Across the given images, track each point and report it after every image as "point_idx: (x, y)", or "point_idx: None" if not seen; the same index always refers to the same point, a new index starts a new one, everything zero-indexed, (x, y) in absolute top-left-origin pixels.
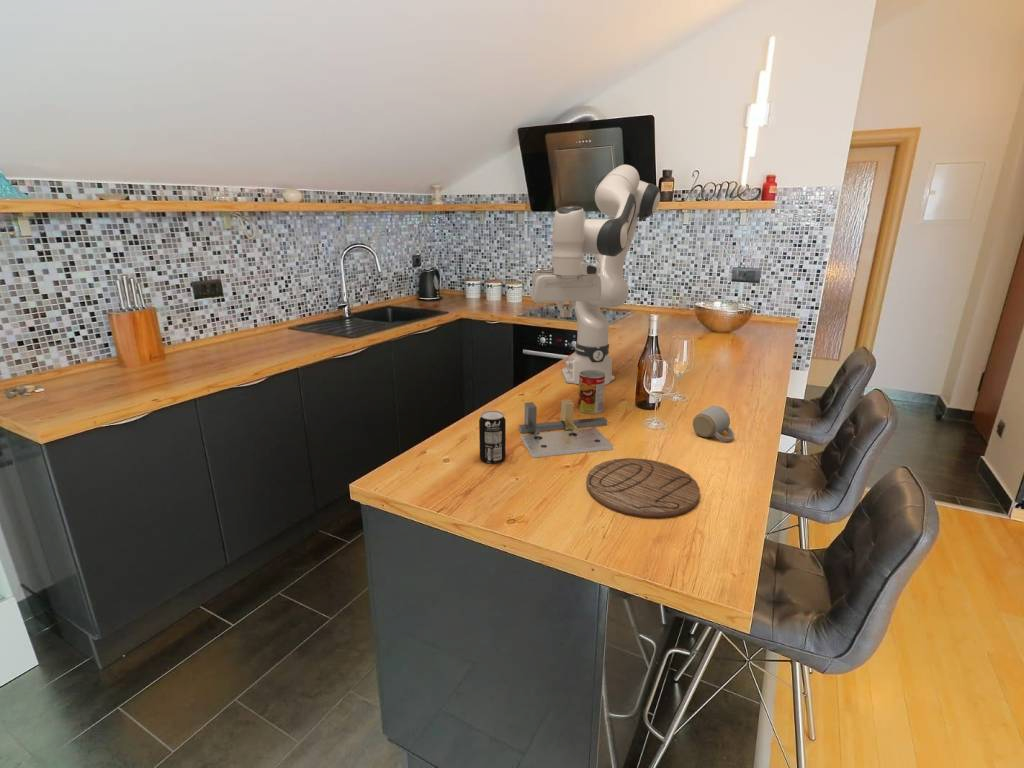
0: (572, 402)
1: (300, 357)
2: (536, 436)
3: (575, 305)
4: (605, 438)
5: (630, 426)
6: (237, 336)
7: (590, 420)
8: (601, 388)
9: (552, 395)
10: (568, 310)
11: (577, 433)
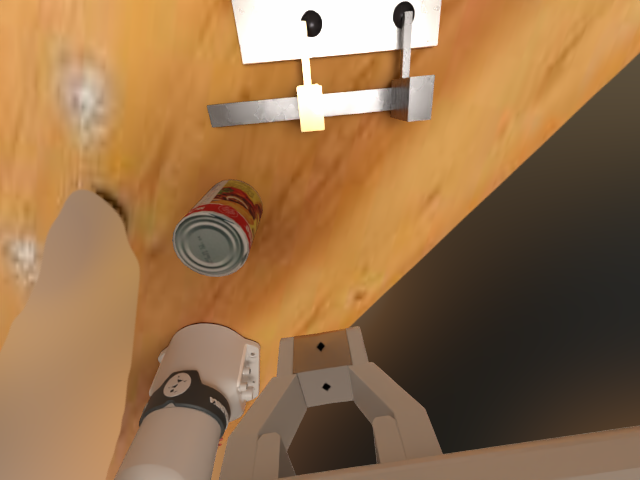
0: (298, 101)
1: None
2: None
3: (232, 432)
4: None
5: (151, 88)
6: None
7: (249, 110)
8: (196, 204)
9: (300, 288)
10: (301, 393)
11: (297, 30)
